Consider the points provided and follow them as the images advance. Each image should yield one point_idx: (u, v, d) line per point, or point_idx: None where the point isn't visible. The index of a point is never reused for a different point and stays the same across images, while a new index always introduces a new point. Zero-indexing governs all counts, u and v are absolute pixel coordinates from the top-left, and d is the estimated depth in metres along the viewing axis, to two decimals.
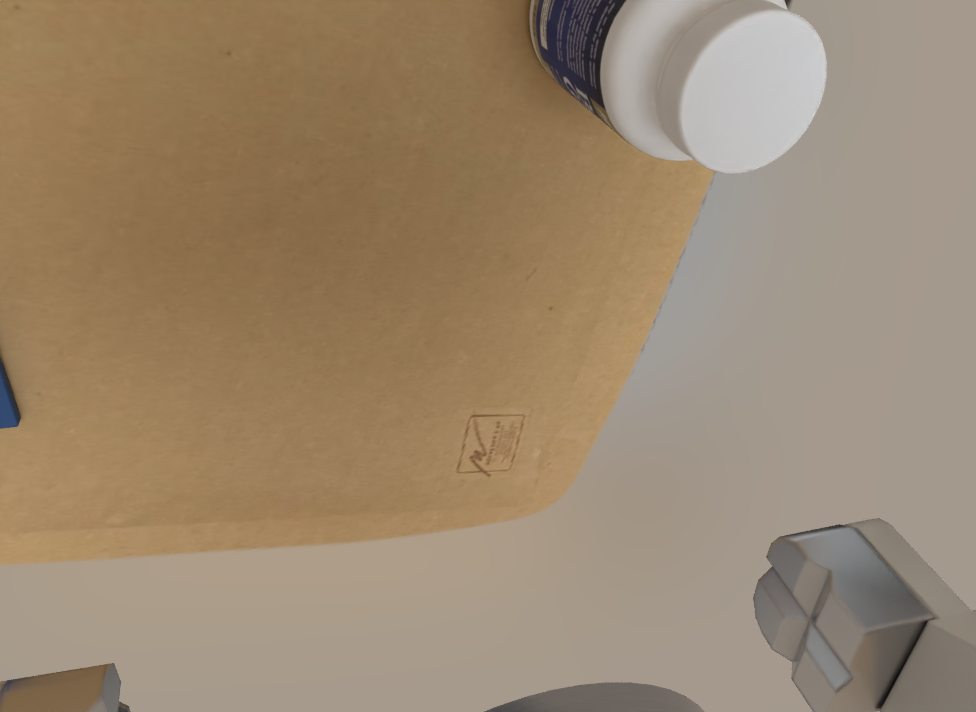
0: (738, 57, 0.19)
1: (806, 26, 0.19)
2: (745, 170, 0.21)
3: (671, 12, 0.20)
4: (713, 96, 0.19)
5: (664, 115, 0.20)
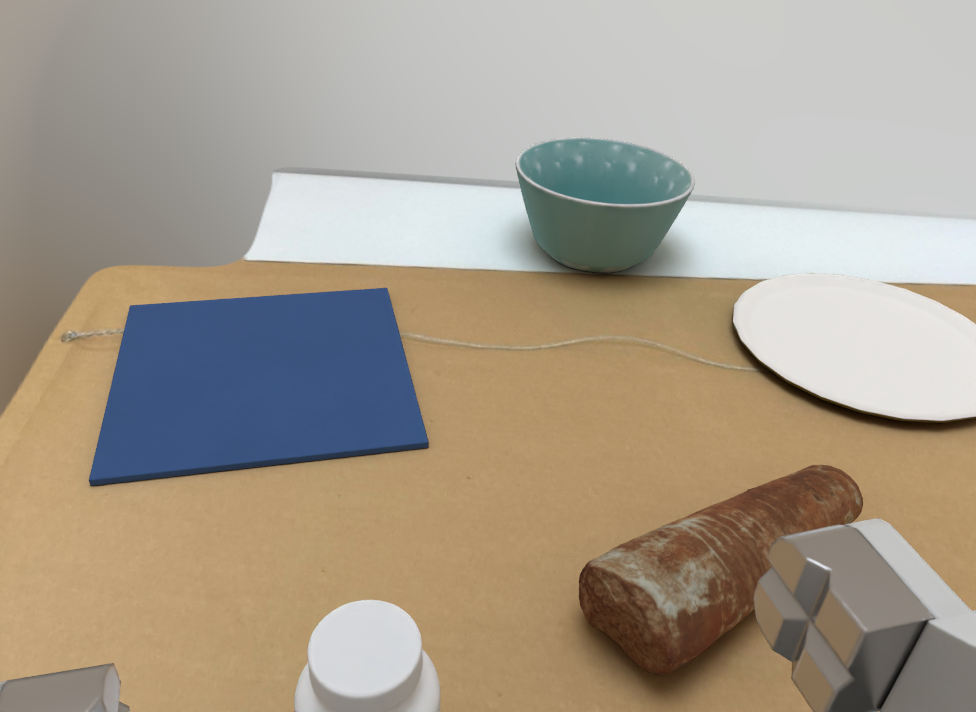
0: (388, 624, 0.29)
1: (414, 659, 0.28)
2: (310, 659, 0.28)
3: None
4: (362, 617, 0.29)
5: None
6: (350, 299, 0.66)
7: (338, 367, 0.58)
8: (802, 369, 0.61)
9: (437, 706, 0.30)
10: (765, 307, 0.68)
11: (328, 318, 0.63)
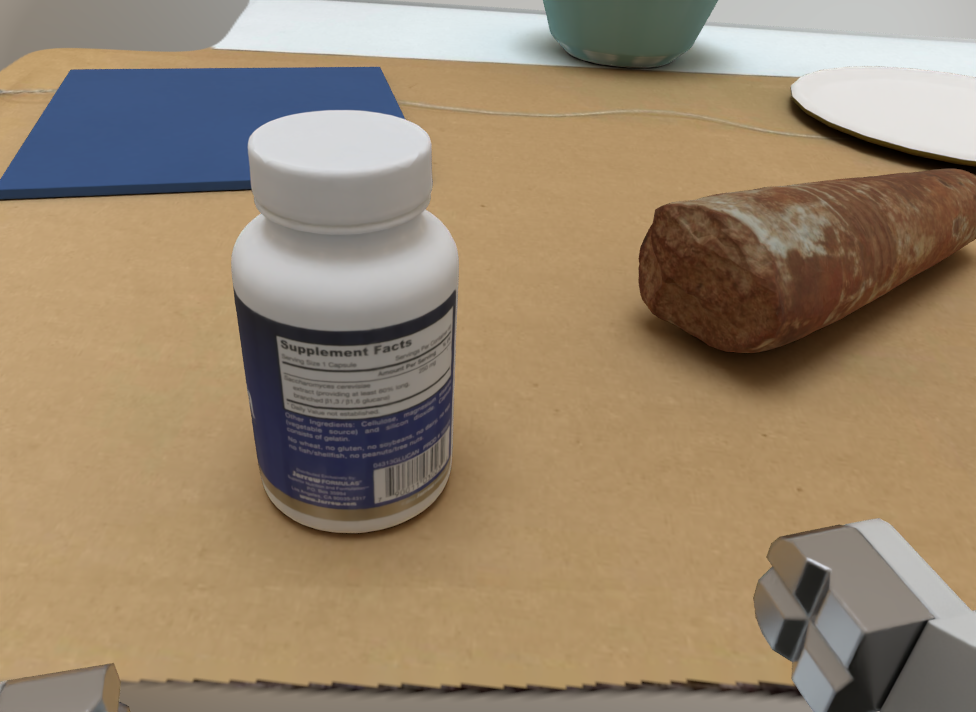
0: (379, 126, 0.19)
1: (420, 149, 0.17)
2: (252, 144, 0.17)
3: None
4: (338, 120, 0.19)
5: None
6: (336, 73, 0.55)
7: None
8: (881, 134, 0.50)
9: (455, 266, 0.19)
10: (827, 92, 0.58)
11: (309, 84, 0.53)
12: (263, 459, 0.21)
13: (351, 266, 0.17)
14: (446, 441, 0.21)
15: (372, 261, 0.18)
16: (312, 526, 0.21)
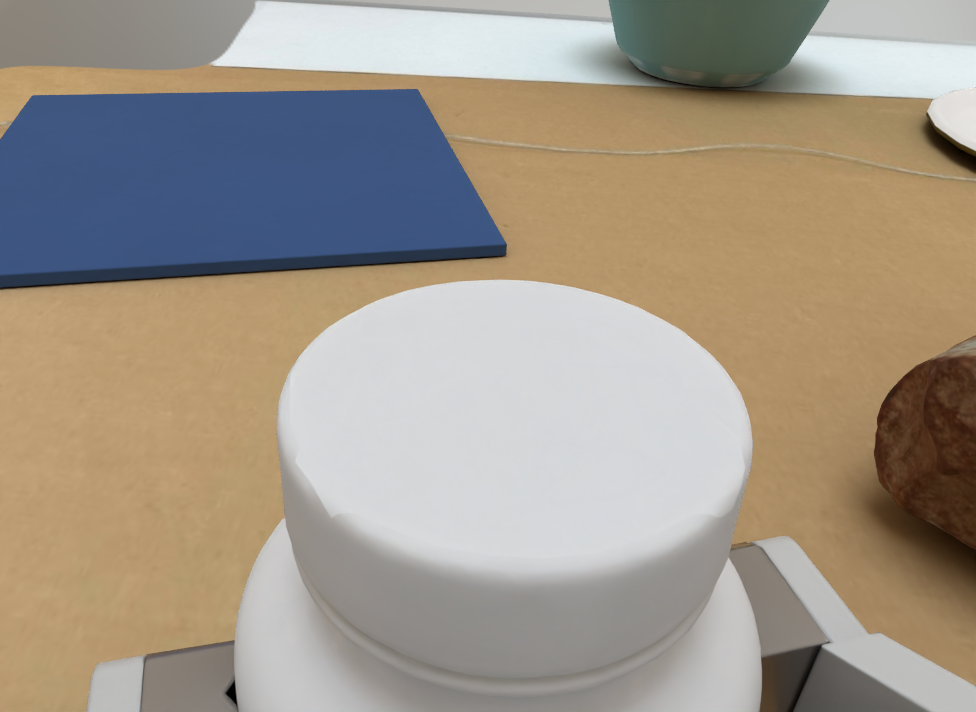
0: (591, 336, 0.08)
1: (740, 436, 0.07)
2: (290, 431, 0.06)
3: None
4: (489, 318, 0.08)
5: None
6: (364, 98, 0.44)
7: (349, 160, 0.36)
8: None
9: None
10: (968, 118, 0.47)
11: (332, 113, 0.42)
12: None
13: None
14: None
15: None
16: None
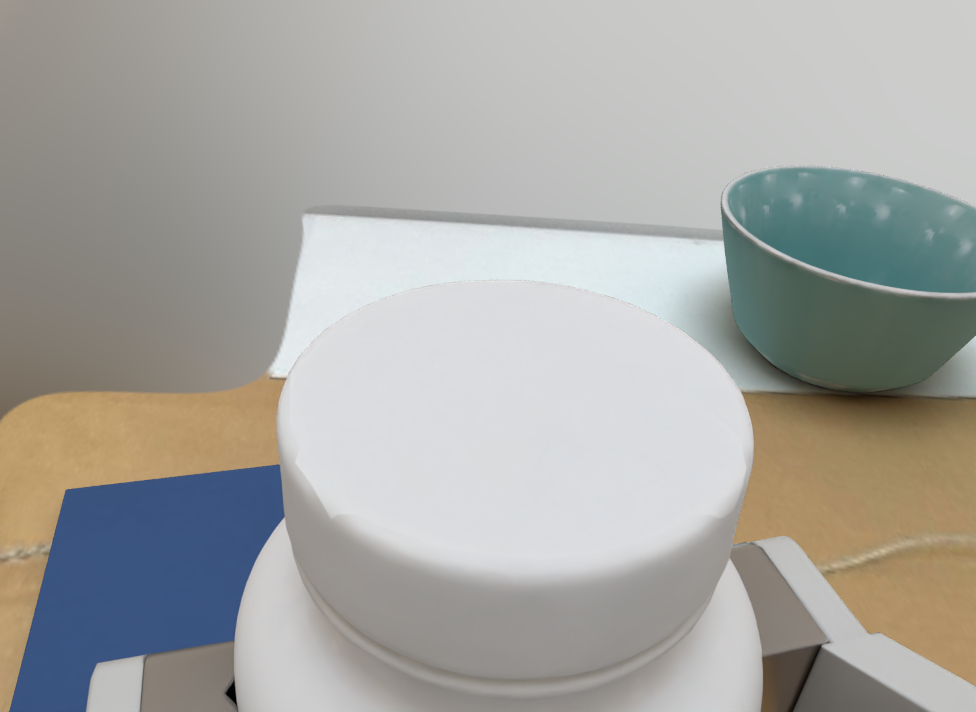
0: (591, 337, 0.08)
1: (742, 436, 0.06)
2: (290, 432, 0.06)
3: None
4: (489, 318, 0.08)
5: None
6: None
7: None
8: None
9: None
10: None
11: None
12: None
13: None
14: None
15: None
16: None
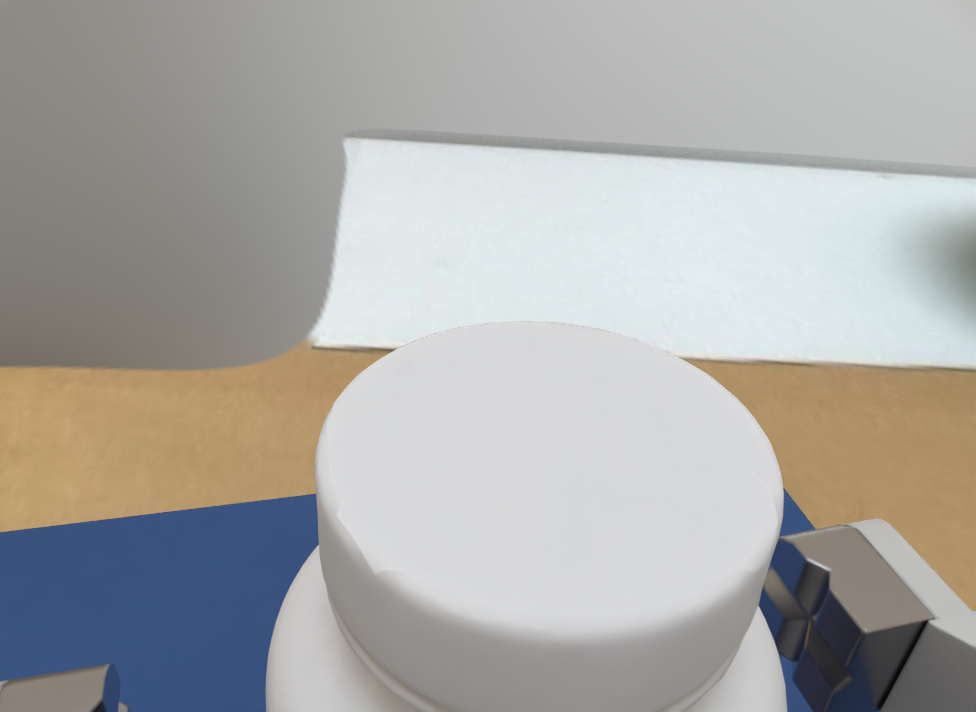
0: (619, 382, 0.08)
1: (772, 487, 0.07)
2: (329, 484, 0.06)
3: None
4: (517, 362, 0.08)
5: None
6: None
7: None
8: None
9: None
10: None
11: None
12: None
13: None
14: None
15: None
16: None
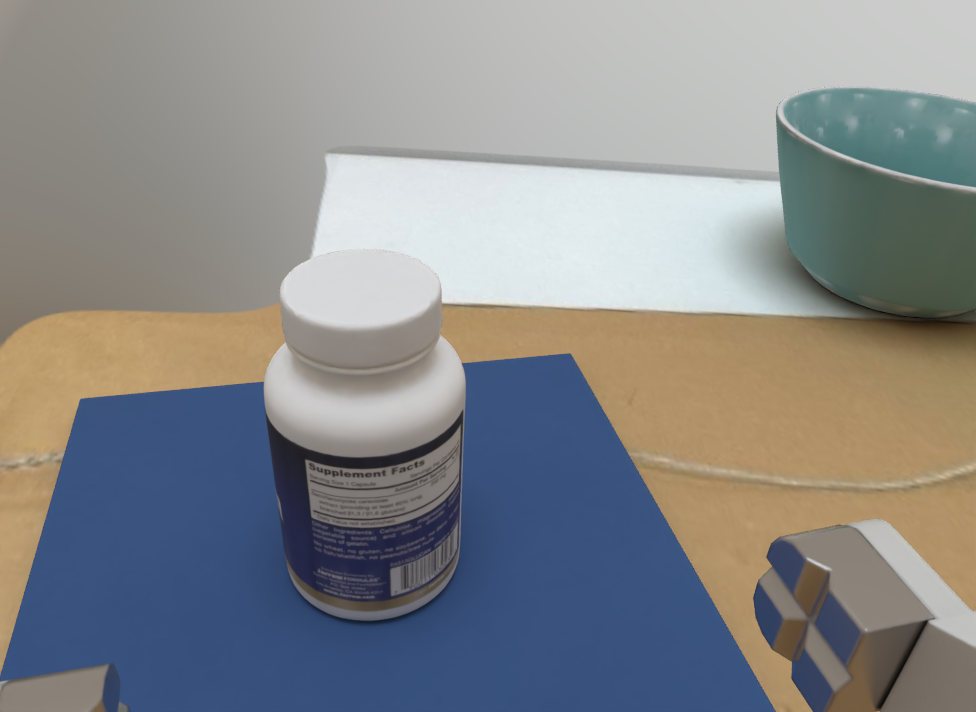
0: (394, 268, 0.21)
1: (431, 297, 0.20)
2: (284, 294, 0.20)
3: None
4: (358, 262, 0.21)
5: None
6: (510, 380, 0.34)
7: (532, 551, 0.26)
8: None
9: (462, 390, 0.21)
10: None
11: (478, 423, 0.31)
12: (290, 555, 0.23)
13: (371, 400, 0.20)
14: (455, 536, 0.24)
15: (389, 395, 0.20)
16: (334, 614, 0.23)
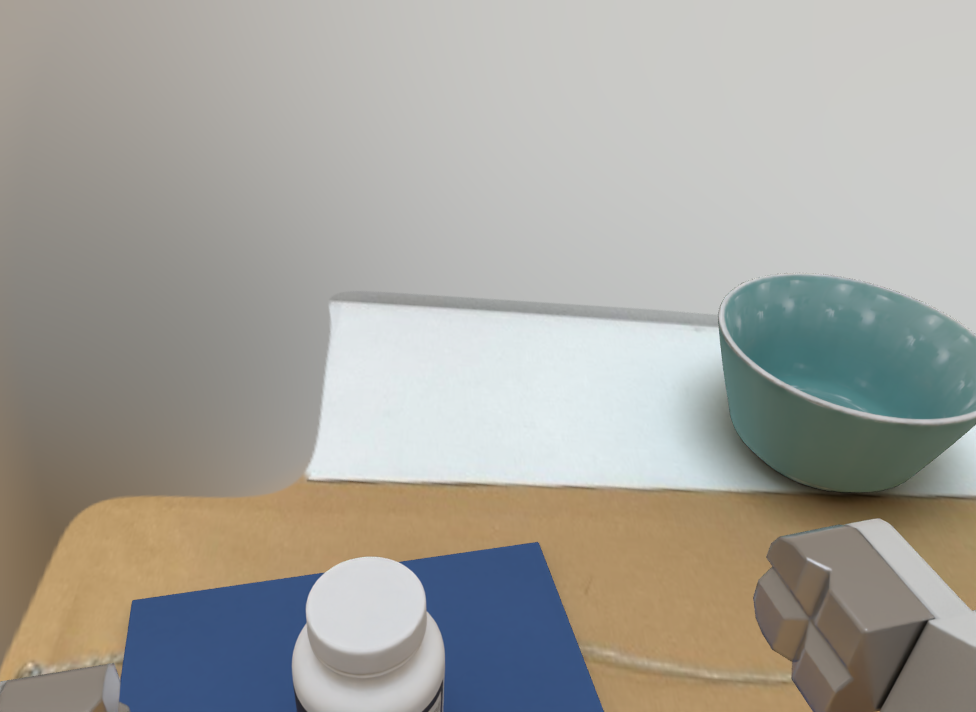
0: (390, 580, 0.28)
1: (418, 615, 0.27)
2: (309, 615, 0.26)
3: None
4: (363, 574, 0.28)
5: None
6: (486, 573, 0.41)
7: None
8: None
9: (442, 667, 0.28)
10: None
11: (459, 621, 0.38)
12: None
13: (373, 692, 0.27)
14: None
15: (387, 686, 0.27)
16: None
